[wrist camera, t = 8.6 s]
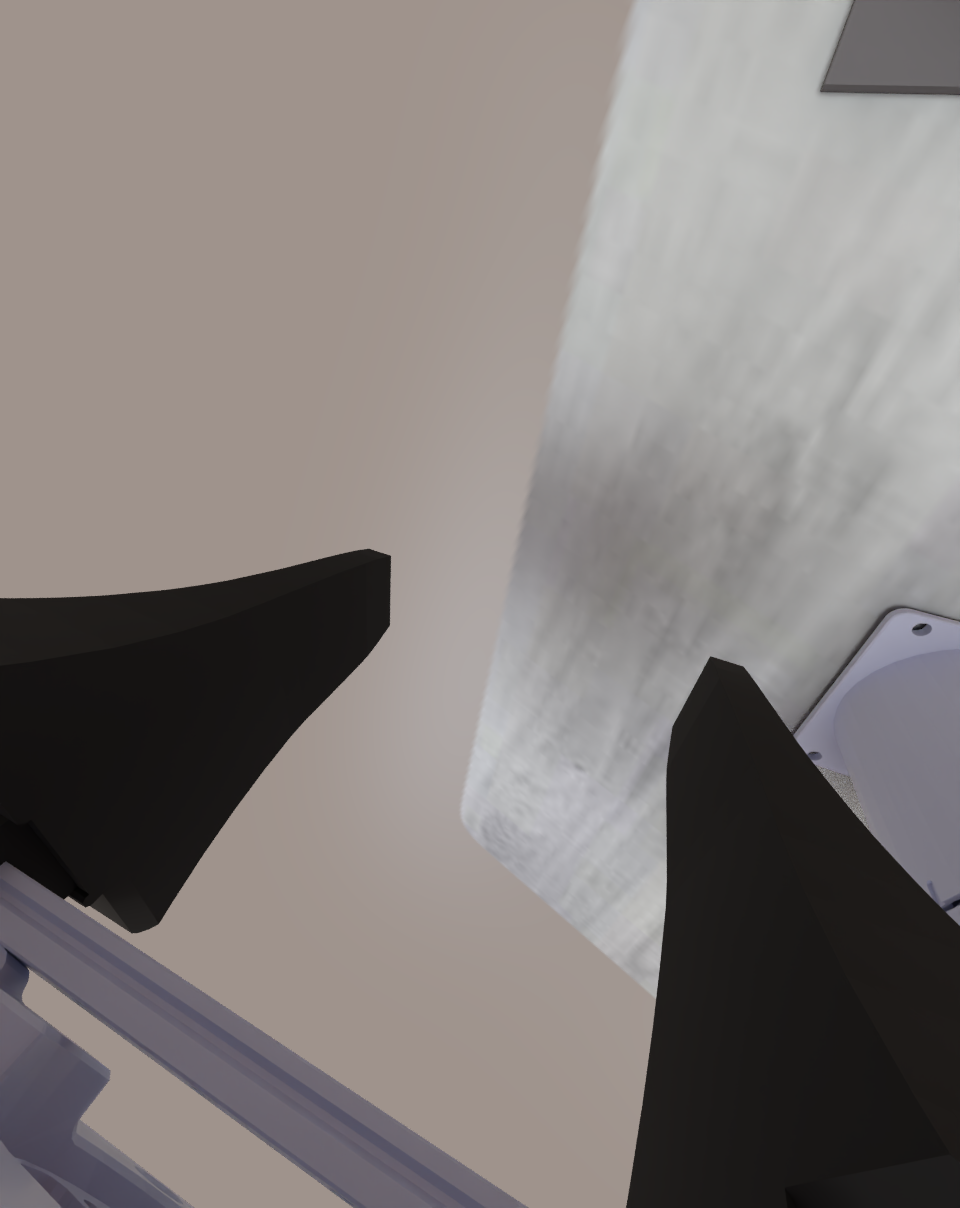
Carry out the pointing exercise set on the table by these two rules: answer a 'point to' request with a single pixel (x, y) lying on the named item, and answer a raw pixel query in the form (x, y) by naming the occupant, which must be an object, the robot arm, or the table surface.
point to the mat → (898, 48)
